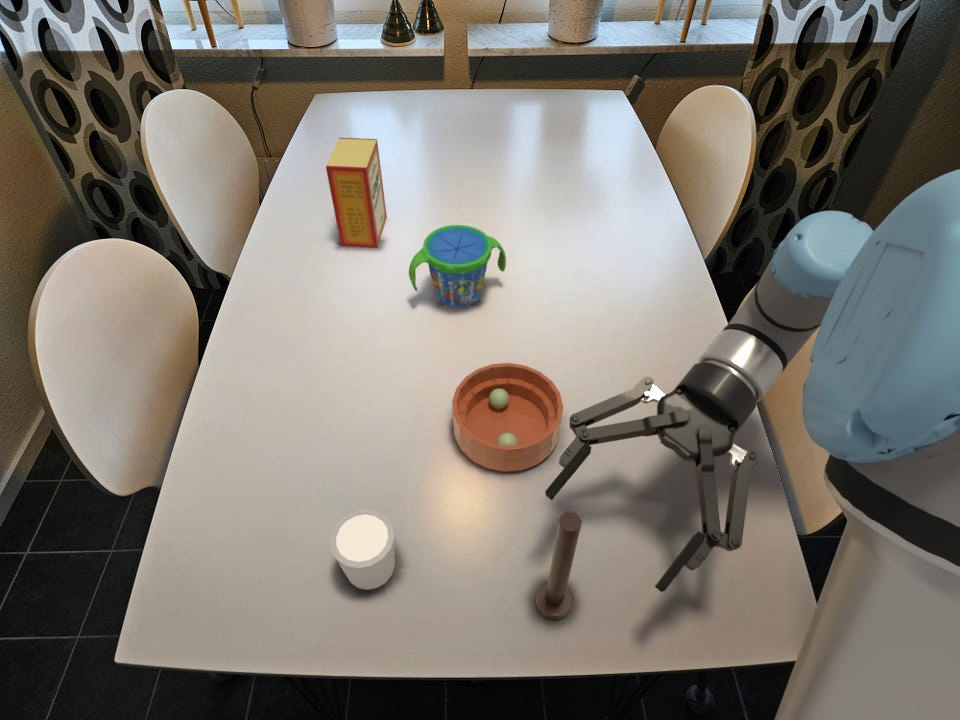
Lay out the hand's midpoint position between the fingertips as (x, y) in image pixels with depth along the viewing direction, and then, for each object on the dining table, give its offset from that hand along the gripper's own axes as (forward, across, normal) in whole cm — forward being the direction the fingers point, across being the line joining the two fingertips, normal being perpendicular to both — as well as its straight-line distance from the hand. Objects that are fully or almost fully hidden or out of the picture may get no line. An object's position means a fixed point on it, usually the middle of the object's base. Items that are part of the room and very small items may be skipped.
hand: (601, 541), depth 64 cm
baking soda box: (-19, +66, -31) cm, 76 cm away
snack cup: (-19, +42, -27) cm, 53 cm away
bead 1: (-8, +22, -17) cm, 29 cm away
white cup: (+18, +18, -9) cm, 27 cm away
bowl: (-6, +19, -18) cm, 27 cm away
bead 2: (-4, +17, -14) cm, 23 cm away
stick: (+7, 0, -10) cm, 12 cm away
